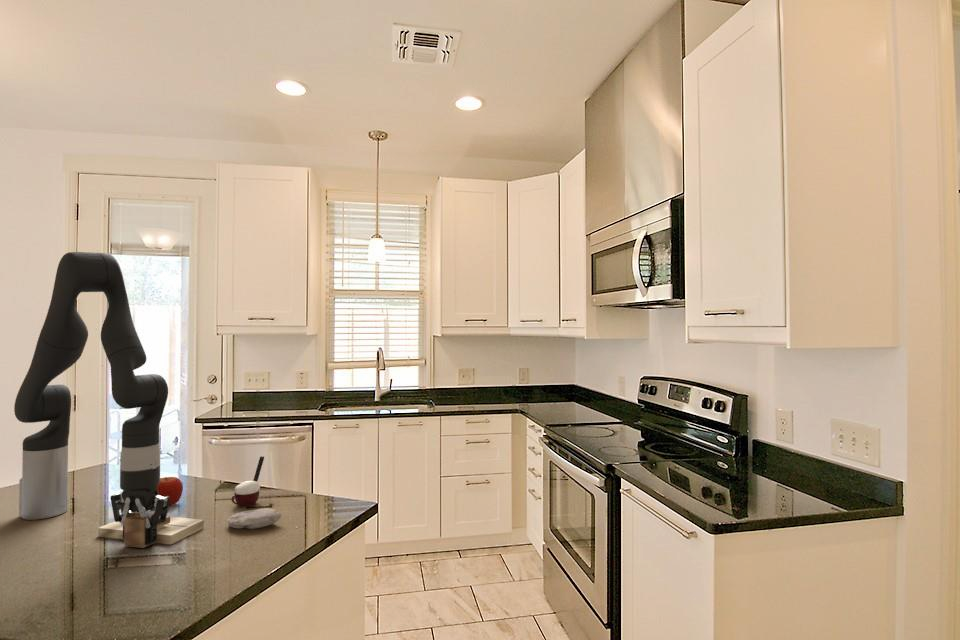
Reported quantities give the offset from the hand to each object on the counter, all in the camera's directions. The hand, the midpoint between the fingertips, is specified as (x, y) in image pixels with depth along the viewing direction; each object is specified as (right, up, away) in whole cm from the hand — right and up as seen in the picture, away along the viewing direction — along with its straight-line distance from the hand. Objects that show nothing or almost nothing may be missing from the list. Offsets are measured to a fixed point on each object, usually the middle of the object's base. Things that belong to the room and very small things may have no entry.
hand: (139, 541), depth 119 cm
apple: (-10, -2, +27) cm, 29 cm away
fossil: (+20, -2, +12) cm, 24 cm away
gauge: (+1, -1, +3) cm, 3 cm away
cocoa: (+12, -2, +28) cm, 31 cm away
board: (-2, -1, +8) cm, 8 cm away
